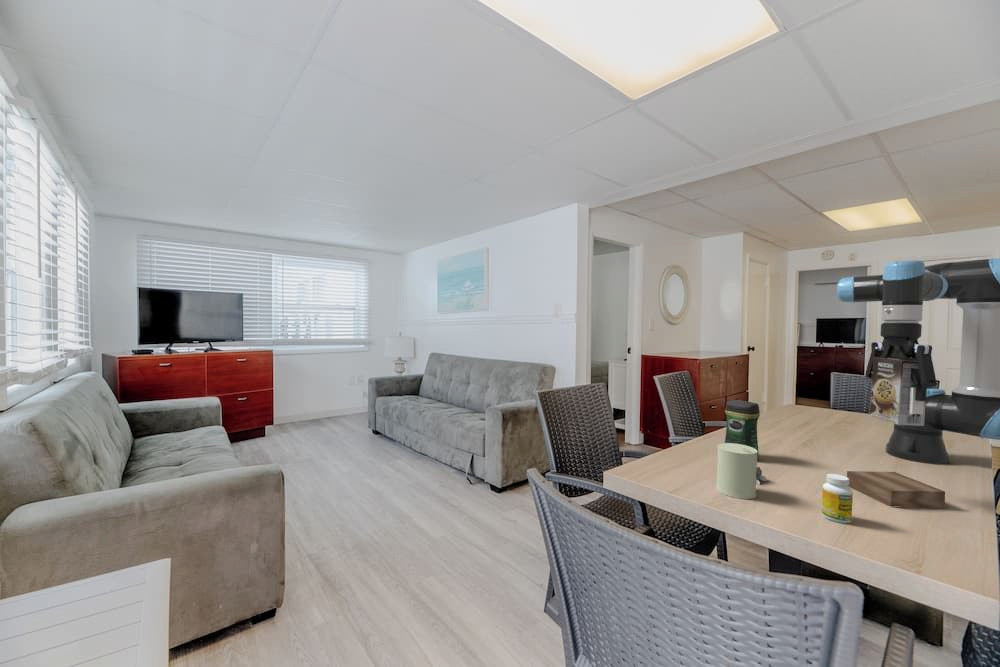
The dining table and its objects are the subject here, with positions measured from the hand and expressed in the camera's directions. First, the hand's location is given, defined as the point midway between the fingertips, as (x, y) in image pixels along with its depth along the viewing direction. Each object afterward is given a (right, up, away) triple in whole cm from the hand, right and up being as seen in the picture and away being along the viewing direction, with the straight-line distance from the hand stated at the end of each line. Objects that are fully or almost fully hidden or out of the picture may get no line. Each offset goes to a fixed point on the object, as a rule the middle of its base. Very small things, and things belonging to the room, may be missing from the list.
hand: (896, 409), depth 106 cm
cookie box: (0, -3, 0) cm, 3 cm away
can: (-40, -22, +2) cm, 46 cm away
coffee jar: (-22, -21, +31) cm, 44 cm away
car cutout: (-27, -23, +12) cm, 37 cm away
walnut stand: (0, -23, +1) cm, 23 cm away
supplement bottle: (-25, -23, -12) cm, 36 cm away
